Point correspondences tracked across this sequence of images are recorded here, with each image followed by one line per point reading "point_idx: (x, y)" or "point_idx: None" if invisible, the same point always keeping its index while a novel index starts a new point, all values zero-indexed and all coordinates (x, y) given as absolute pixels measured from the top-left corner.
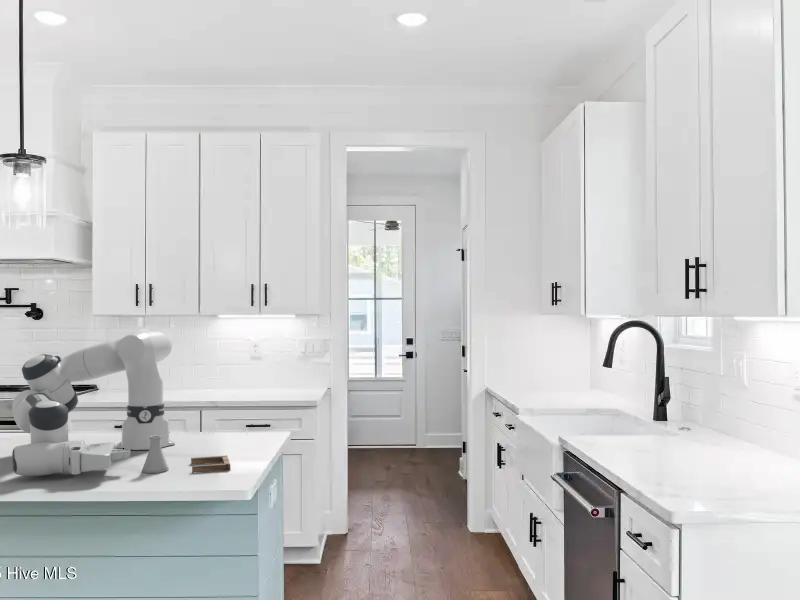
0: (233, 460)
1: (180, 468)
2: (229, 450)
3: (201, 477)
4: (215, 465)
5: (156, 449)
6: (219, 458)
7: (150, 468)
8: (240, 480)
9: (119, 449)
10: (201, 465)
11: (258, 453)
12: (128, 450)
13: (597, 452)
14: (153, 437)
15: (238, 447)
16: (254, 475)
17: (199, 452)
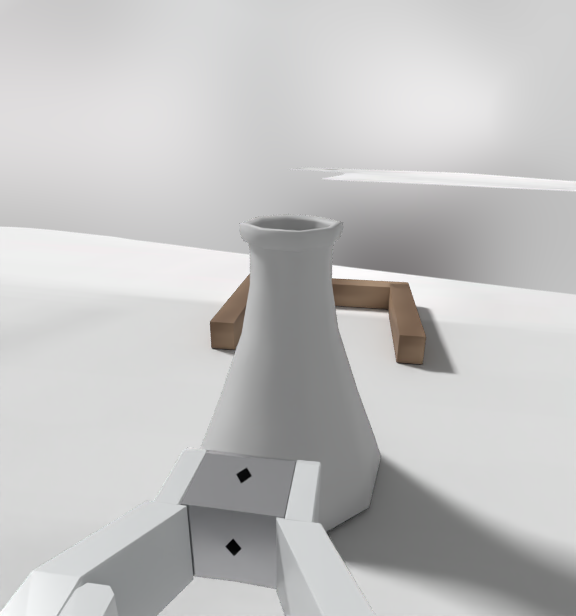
0: None
1: None
2: (77, 277)
3: (515, 355)
4: (413, 300)
5: (336, 321)
6: None
7: (364, 468)
8: (568, 306)
9: (102, 550)
10: (405, 319)
11: (190, 259)
12: (250, 460)
13: (411, 182)
14: (334, 229)
15: (57, 265)
16: (492, 287)
17: (3, 313)
